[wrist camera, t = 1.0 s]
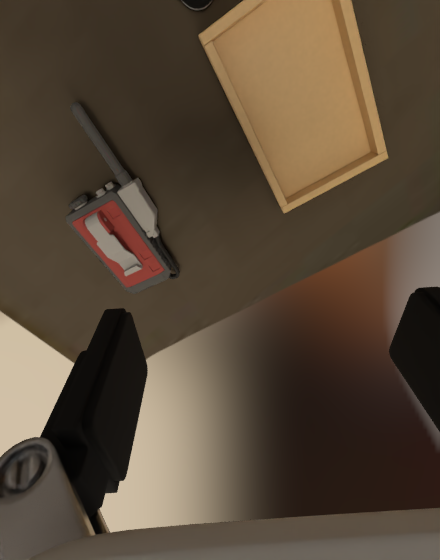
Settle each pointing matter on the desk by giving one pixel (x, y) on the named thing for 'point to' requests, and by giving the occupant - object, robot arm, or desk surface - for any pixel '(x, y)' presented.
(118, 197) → the walkie-talkie
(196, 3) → the remote control
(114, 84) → the desk surface
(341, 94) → the tray
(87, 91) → the desk surface
